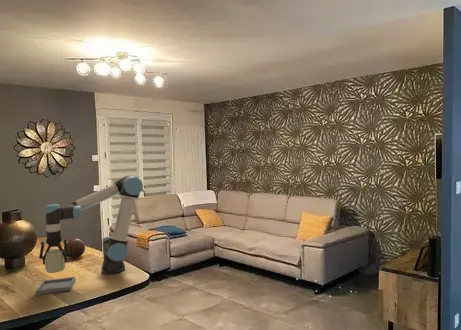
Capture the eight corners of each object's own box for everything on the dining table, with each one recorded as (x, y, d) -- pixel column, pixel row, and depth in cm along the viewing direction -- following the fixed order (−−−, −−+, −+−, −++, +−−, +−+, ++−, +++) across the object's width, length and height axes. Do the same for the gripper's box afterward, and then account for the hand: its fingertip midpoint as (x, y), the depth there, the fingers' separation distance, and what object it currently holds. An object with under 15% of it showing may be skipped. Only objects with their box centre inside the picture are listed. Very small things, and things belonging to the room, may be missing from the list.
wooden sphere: (89, 256, 276) (88, 237, 275) (71, 262, 263) (70, 242, 263) (77, 254, 284) (76, 235, 283) (59, 259, 271) (58, 240, 271)
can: (46, 274, 205) (45, 253, 205) (46, 269, 213) (45, 249, 213) (64, 271, 209) (63, 250, 209) (63, 267, 217) (62, 247, 217)
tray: (75, 280, 223) (75, 276, 223) (70, 291, 205) (70, 286, 205) (43, 284, 218) (43, 280, 218) (36, 295, 200) (35, 291, 200)
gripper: (74, 227, 217) (76, 264, 218) (34, 231, 211) (36, 269, 212) (72, 230, 210) (74, 268, 210) (31, 233, 204) (33, 273, 205)
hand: (55, 268), depth 211 cm, fingers closed on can, 9 cm apart
